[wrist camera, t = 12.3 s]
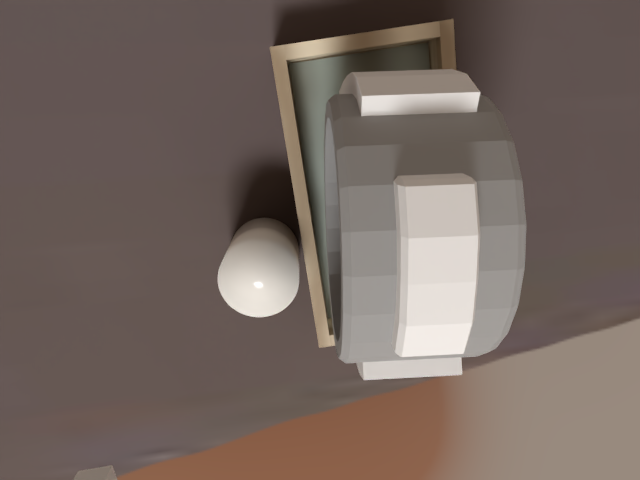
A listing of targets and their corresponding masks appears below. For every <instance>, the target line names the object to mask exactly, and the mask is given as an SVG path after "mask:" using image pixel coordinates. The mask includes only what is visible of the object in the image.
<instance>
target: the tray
mask: <svg viewBox="0 0 640 480" xmlns="http://www.w3.org/2000/svg"><path fill="white" fill-rule="evenodd" d="M270 51H271V58H272V64H273V70H274V76H275V82H276V88H277V94H278V100H279V106H280V112H281V118H282V124H283V130H284V136H285V143H286V149H287V155H288V161H289V167H290V173H291V179H292V185H293V191H294V197H295V203H296V209H297V215H298V221H299V228H300V234H301V240H302V246H303V252H304V258H305V264H306V270H307V276H308V282H309V288H310V294H311V300H312V306H313V313H314V319H315V325H316V331H317V337H318V343H319V348H321V347H327V346H334V345H335V341H334V333H333V325H332V315H331V304H330V291H329V277H328V261H327V241H326V218H325V183H324V131H325V112H326V104H327V101H328V100H329V99H330V98H331V97H332V96H334V95H335V94H339V90H340V88H341V85H342V83H343V81H344V79H345V78H346V76H347V75H348V74H350V73H351V72H375V71H406V70H437V69H454V70H456V55H455V37H454V19H449V20H443V21H436V22H430V23H423V24H417V25H410V26H404V27H397V28H391V29H384V30H377V31H371V32H364V33H358V34H351V35H345V36H338V37H332V38H325V39H318V40H312V41H305V42H299V43H292V44H286V45H279V46H273V47H270Z"/></svg>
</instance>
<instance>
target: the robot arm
mask: <svg viewBox="0 0 640 480" xmlns="http://www.w3.org/2000/svg"><path fill="white" fill-rule="evenodd" d="M73 480H117V478H116V475H115V472H114V469H113V466H112V465H111V466H105V467H99V468H93V469H87V470H82V471H78V472H77V474H76V476H75V478H74V479H73Z"/></svg>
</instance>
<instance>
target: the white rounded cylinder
mask: <svg viewBox="0 0 640 480" xmlns="http://www.w3.org/2000/svg"><path fill="white" fill-rule="evenodd" d="M218 286H219V290H220V292H221V295H222V296H223V298H224V300H225V301H226V302H227V303H228V304H229V305H230V306H231V307H232V308H233V309H235V310H236V311H238V312H240V313H242V314H244V315H248V316H252V317H267V316H271V315H274V314H277V313H279V312H280V311H282V310H284V309H285V308H286V307H287V306H288V305H289V304H290V303H291V302H292V301H293V299H294V297H295V295H296V293H297V290H298V286H299V245H298V241H297V238H296V236H295V234H294V233H293V232H292V230H291V229H290V228H289V227H288V226H287V225H285V224H284V223H282V222H280V221H278V220H275V219H272V218H257V219H253V220H250V221H248V222H246V223H245V224H243V225H242V226H241V227H240V228H239V229H238V230H237V231H236V233H235V235H234V237H233V239H232V241H231V243H230V245H229V248H228V250H227V252H226V254H225V256H224V258H223V261H222V263H221V265H220V268H219V271H218Z"/></svg>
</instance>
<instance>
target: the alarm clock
mask: <svg viewBox="0 0 640 480" xmlns="http://www.w3.org/2000/svg"><path fill="white" fill-rule="evenodd" d="M324 183H325V218H326V241H327V261H328V277H329V291H330V304H331V315H332V325H333V333H334V341H335V347H336V352H337V355H338V358H339V359H340V360H342V361H343V362H345V363H357V367H358V371H359V374H360V375H361V377H362V378H363V380H374V379H393V378H412V377H430V376H449V375H462V363H461V357H476V356H479V355H482V354H485V353H487V352H490V351H492V350H494V349H495V348H497V346H498V345H499V344H500V342H501V341H502V340H503V338H504V337H505V336H506V335H507V333H508V331H509V329H510V326H511V323H512V321H513V318H514V315H515V313H516V310H517V307H518V304H519V298H520V292H521V286H522V281H523V275H524V269H525V245H526V216H525V205H524V193H523V182H522V177H521V172H520V168H519V163H518V159H517V155H516V150H515V146H514V142H513V139H512V137H511V135H510V132H509V130H508V128H507V125H506V123H505V120H504V118H503V116H502V114H501V113H500V111H499V110H498V109H497V108H496V106H495V105H494V104H493V103H492V101H491V100H490V99H489V98H488V97H485V96H483V95H481V94H480V91H479V89H478V88H477V87H476V85H475V84H474V83H473V81H472V80H471V79H470V77H469V76H468V75H467V74H466V73H463V72H460V71H457V70H454V69H437V70H406V71H375V72H351V73H350V74H348V75H347V76H346V78H345V79H344V81H343V83H342V85H341V88H340V90H339V94H335V95H334V96H332V97H331V98H330V99H329V100H328V101H327V104H326V112H325V131H324Z"/></svg>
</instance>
